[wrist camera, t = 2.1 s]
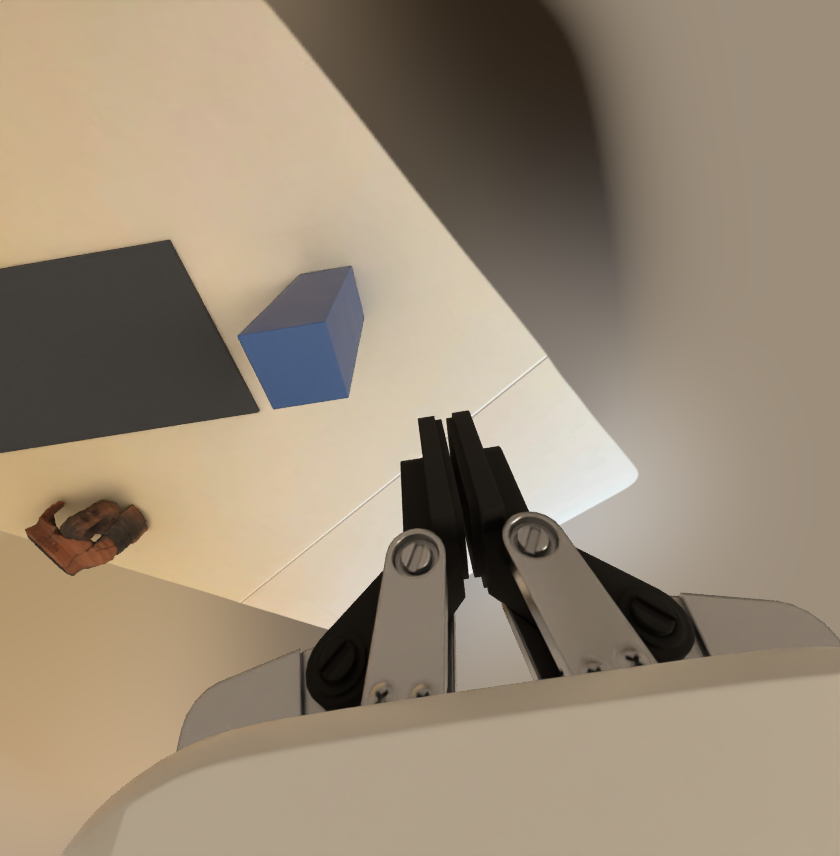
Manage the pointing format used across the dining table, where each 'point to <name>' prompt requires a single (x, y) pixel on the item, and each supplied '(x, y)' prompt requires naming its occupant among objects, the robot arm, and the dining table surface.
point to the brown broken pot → (87, 535)
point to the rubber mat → (109, 349)
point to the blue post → (307, 339)
